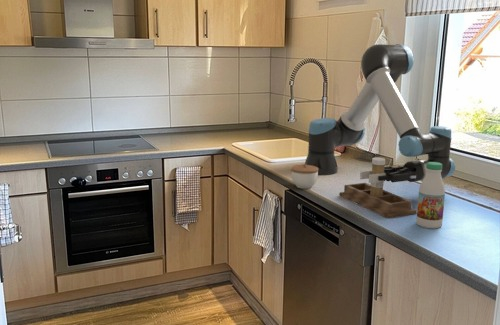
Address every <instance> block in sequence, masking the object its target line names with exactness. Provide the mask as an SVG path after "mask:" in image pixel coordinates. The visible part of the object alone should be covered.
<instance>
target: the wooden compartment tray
mask: <svg viewBox="0 0 500 325" xmlns="http://www.w3.org/2000/svg"><path fill="white" fill-rule="evenodd" d="M343 188H344V189H343V190H344V191H340V192H339V194H338V196H339V195H340V197H341V198H344V199H346V200H348V201H350V202H352V201H353V202H352V203H354V202H355V204H356V203H357V205H359V206H361V207H363V208H364V209H367V210H369V211H372V212H374V213H376V214H377V215H380V216H382V217H384V218H387V219H391V218H398V217H405V216H409V215H410V216H411V215H417V209H414V208H413V200H410V199H407V198H405V197H402V196H399V195H397V194H395V193H392V192H390V191H388V190H384V189H383V195H382V196H372V195H370V191H371V183H367V182H361V183H351V184H344V187H343Z"/></svg>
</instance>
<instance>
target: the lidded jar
mask: <svg viewBox="0 0 500 325" xmlns="http://www.w3.org/2000/svg"><path fill="white" fill-rule="evenodd" d="M290 170H291V180H292V182H293V183H294V185H295V186H296V188H298V189H305V190H306V189H312V188H313V186H314V185H315V184H316V183H317V181H318V177H319V174H318V167H315V166H311V165H306V164H305V163H303V164H296V165H293V166H291V169H290Z"/></svg>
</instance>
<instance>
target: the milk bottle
mask: <svg viewBox="0 0 500 325" xmlns="http://www.w3.org/2000/svg"><path fill="white" fill-rule="evenodd" d="M426 170H427V172H426V175H425V177H424V179H423V181H421V183H420V184H419V185H420V186H419V188H418V198H417V208H416V210H417V213H416V219H415V221H416V222H415V223H416V224H417V226H419V227H422V228H424V229H425V228H426V229H439V228H441V227H442V225H443V218H444V209H445V208H444V207H445V199H446V197H445V196H446V187H445V184H444V182H443V178H442V177H441V171H442V164H441V163H438V162H428V163H427V165H426Z"/></svg>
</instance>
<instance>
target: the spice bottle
mask: <svg viewBox="0 0 500 325" xmlns="http://www.w3.org/2000/svg"><path fill="white" fill-rule="evenodd" d="M371 164H372V165H371V166H372V167H371V170H372V174H380V173H384V167H386V159H385V157H380V156H379V157H376V156H375V157H372V158H371ZM384 182H385V181H381V182H373V183H370V185H371V191H370V195H372V196H382V195H383V190H384V188H383V187H384V184H385V183H384Z"/></svg>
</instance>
